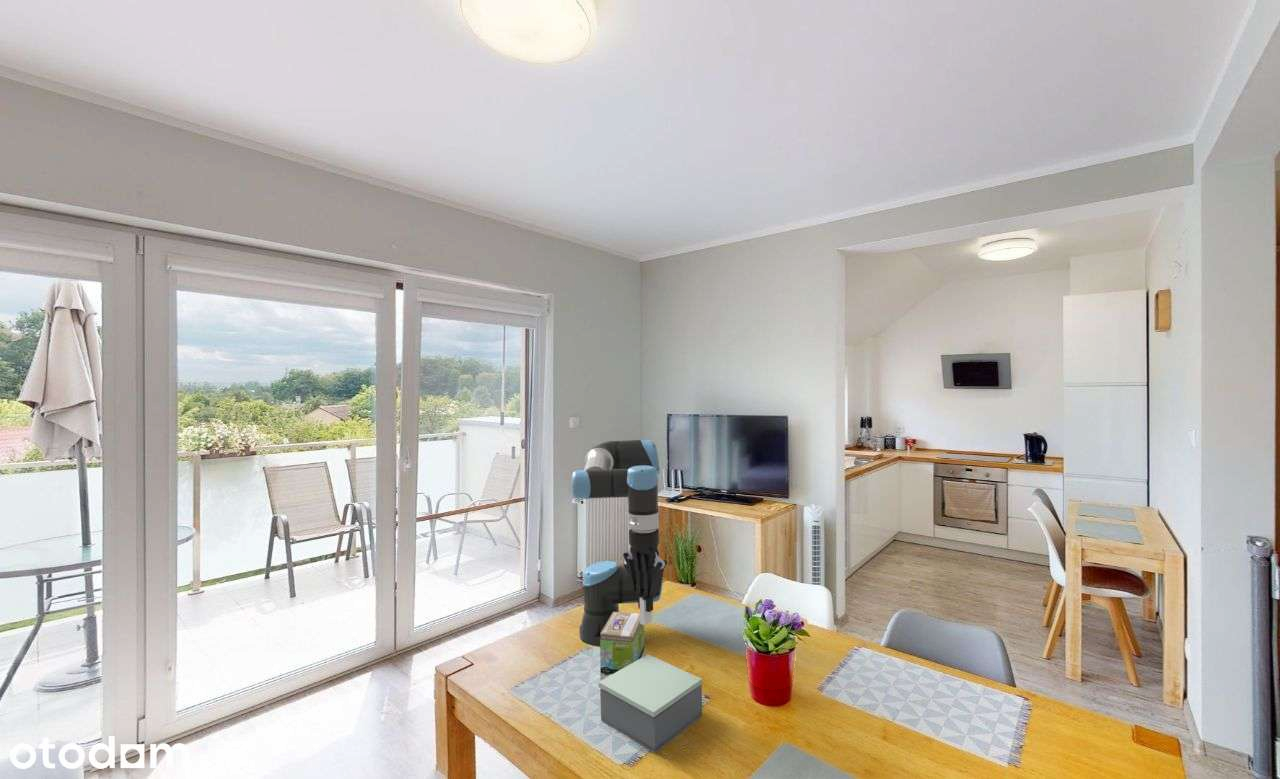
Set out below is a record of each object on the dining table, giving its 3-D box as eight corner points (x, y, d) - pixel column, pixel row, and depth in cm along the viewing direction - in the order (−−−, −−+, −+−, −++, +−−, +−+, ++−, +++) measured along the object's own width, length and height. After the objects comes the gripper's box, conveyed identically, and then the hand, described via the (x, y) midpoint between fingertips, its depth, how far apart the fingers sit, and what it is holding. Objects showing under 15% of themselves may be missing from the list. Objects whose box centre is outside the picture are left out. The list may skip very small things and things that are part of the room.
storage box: (649, 688, 145) (648, 659, 144) (702, 715, 132) (701, 684, 132) (601, 720, 131) (600, 688, 131) (655, 753, 119) (654, 718, 119)
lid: (647, 658, 145) (647, 654, 145) (702, 683, 132) (702, 678, 132) (598, 686, 131) (598, 682, 131) (653, 717, 119) (653, 712, 119)
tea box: (634, 689, 144) (633, 636, 144) (599, 686, 146) (598, 633, 146) (645, 660, 159) (644, 612, 159) (613, 658, 161) (611, 610, 161)
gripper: (614, 527, 133) (617, 620, 133) (653, 537, 124) (655, 636, 124) (635, 521, 138) (637, 610, 139) (673, 530, 129) (675, 625, 130)
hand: (646, 622), depth 131 cm, fingers closed
